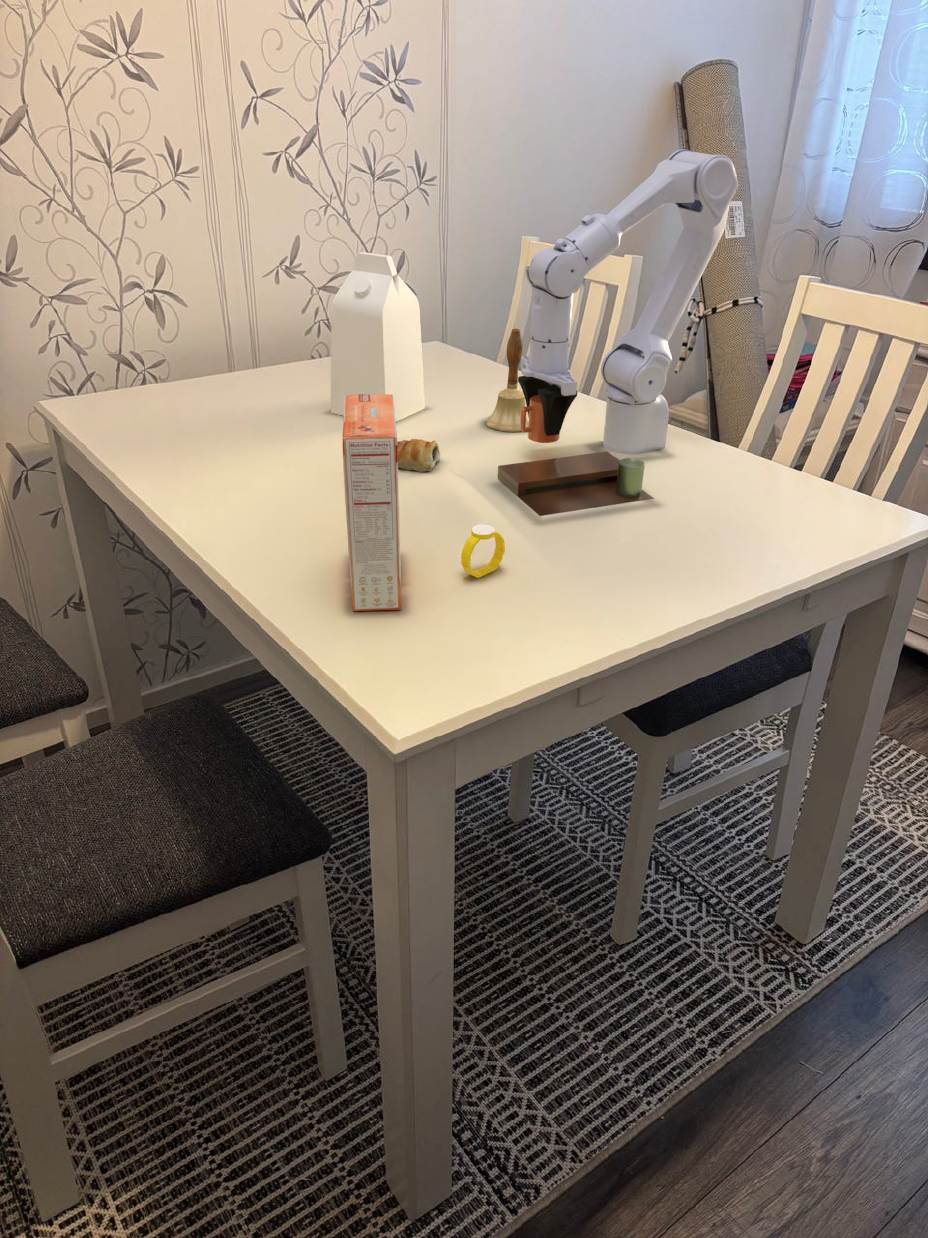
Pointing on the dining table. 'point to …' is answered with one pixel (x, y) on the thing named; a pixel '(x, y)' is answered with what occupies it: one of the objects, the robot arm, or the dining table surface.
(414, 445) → the pastry
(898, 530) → the dining table surface
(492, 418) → the hand bell
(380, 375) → the milk
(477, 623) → the dining table surface
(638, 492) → the tin
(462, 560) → the watch
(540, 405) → the jug
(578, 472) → the step shelf
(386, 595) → the cracker box
